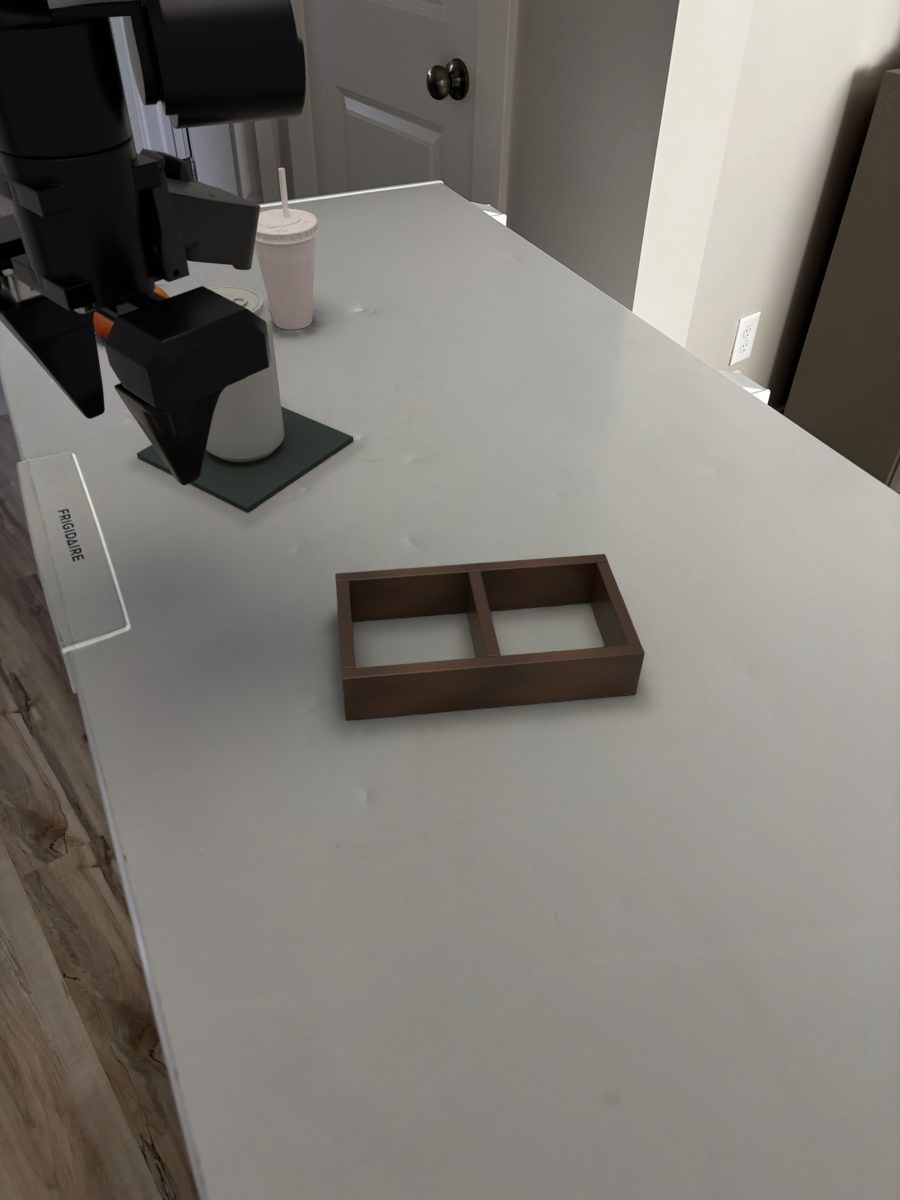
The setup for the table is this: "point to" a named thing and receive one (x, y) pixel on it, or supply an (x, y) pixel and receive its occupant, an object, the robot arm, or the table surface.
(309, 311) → the smoothie
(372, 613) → the stand
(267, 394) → the beverage can
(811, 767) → the table surface
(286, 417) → the mat
